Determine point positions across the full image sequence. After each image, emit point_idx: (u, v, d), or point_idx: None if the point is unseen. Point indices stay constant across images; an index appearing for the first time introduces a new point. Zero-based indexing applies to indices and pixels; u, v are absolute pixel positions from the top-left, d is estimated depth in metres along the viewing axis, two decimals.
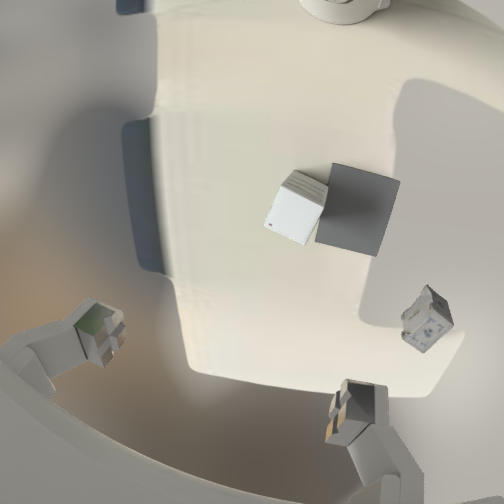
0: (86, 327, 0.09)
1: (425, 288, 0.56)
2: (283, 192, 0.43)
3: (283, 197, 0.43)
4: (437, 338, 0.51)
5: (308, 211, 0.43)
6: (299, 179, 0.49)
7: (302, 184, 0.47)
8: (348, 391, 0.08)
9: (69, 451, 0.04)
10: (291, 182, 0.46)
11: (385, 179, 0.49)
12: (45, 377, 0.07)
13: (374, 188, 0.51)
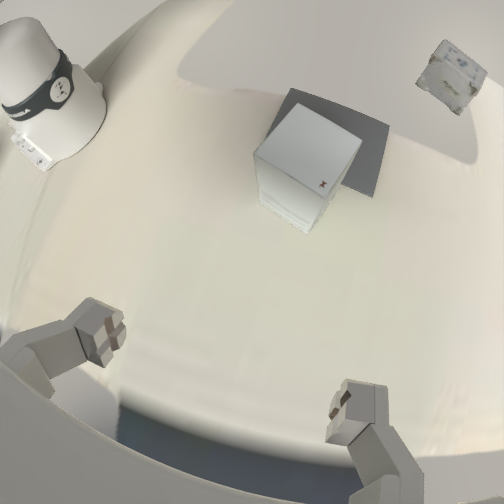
0: (86, 327, 0.09)
1: (419, 83, 0.40)
2: (265, 151, 0.25)
3: (274, 152, 0.24)
4: (465, 55, 0.31)
5: (303, 121, 0.25)
6: None
7: None
8: (348, 391, 0.08)
9: (69, 451, 0.04)
10: None
11: (287, 100, 0.40)
12: (45, 377, 0.07)
13: None
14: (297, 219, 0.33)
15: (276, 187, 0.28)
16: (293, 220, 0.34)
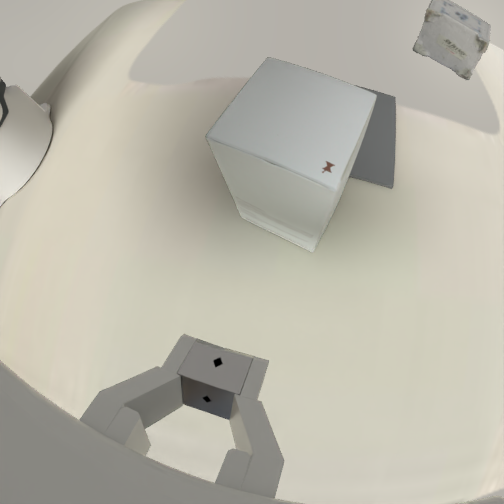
0: (195, 374, 0.08)
1: (417, 49, 0.31)
2: (225, 129, 0.14)
3: (239, 128, 0.14)
4: (462, 8, 0.22)
5: (280, 79, 0.15)
6: None
7: None
8: (221, 359, 0.09)
9: (69, 451, 0.04)
10: None
11: None
12: (145, 435, 0.07)
13: None
14: (295, 233, 0.22)
15: (254, 187, 0.18)
16: (290, 235, 0.23)
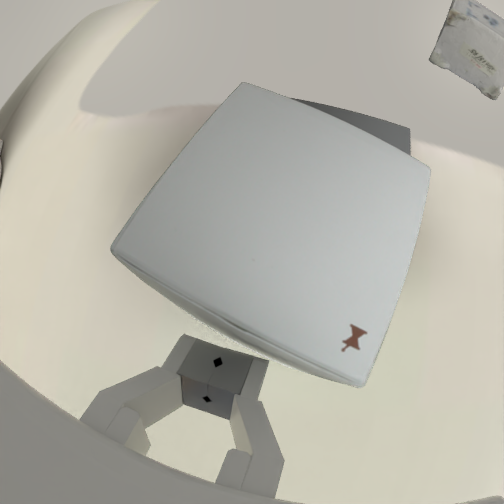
0: (195, 373, 0.08)
1: (435, 59, 0.24)
2: (146, 236, 0.07)
3: (174, 238, 0.07)
4: (490, 11, 0.16)
5: (263, 126, 0.08)
6: None
7: None
8: (221, 359, 0.09)
9: (69, 451, 0.04)
10: None
11: None
12: (145, 435, 0.07)
13: None
14: None
15: (206, 322, 0.10)
16: (260, 354, 0.16)
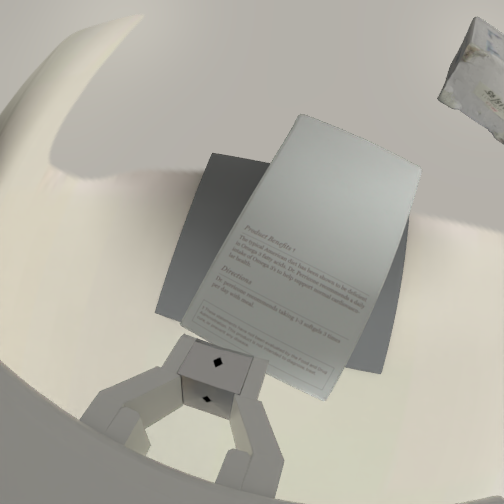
0: (195, 374, 0.08)
1: (445, 98, 0.23)
2: None
3: None
4: None
5: None
6: None
7: None
8: (221, 359, 0.09)
9: (69, 451, 0.04)
10: None
11: (204, 184, 0.22)
12: (145, 435, 0.07)
13: (225, 208, 0.22)
14: (327, 313, 0.12)
15: (318, 181, 0.14)
16: (307, 332, 0.12)
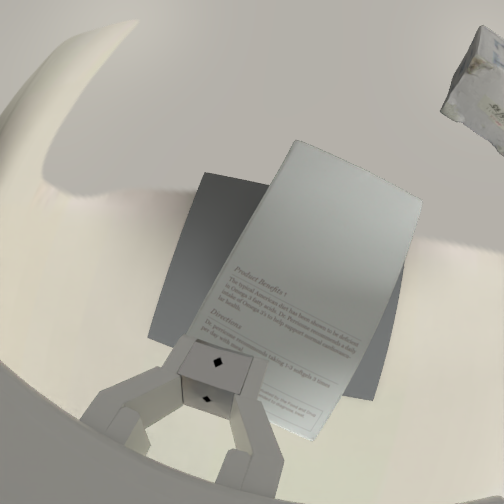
0: (195, 373, 0.08)
1: (448, 111, 0.22)
2: None
3: None
4: None
5: None
6: None
7: None
8: (221, 359, 0.09)
9: (69, 451, 0.04)
10: None
11: (196, 206, 0.22)
12: (145, 435, 0.07)
13: (217, 232, 0.21)
14: (317, 359, 0.11)
15: (313, 218, 0.13)
16: (296, 378, 0.11)
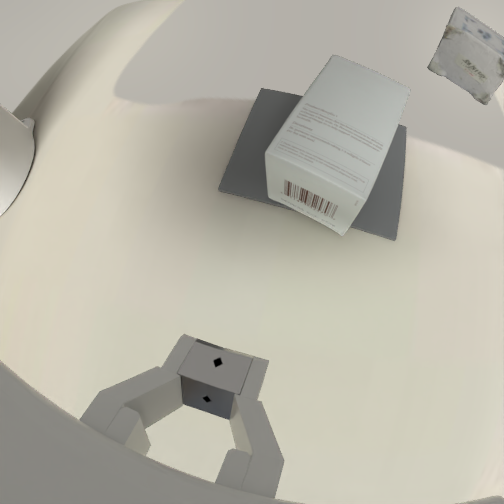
0: (195, 373, 0.08)
1: (433, 67, 0.28)
2: None
3: None
4: (485, 25, 0.19)
5: None
6: None
7: None
8: (221, 359, 0.09)
9: (69, 451, 0.04)
10: None
11: (257, 106, 0.28)
12: (145, 435, 0.07)
13: (273, 121, 0.27)
14: (360, 148, 0.18)
15: (347, 86, 0.19)
16: (349, 157, 0.18)
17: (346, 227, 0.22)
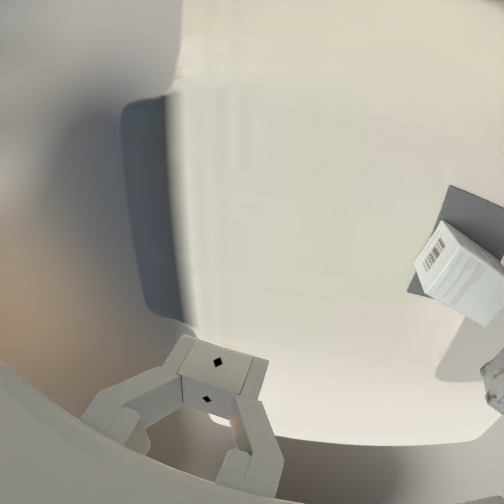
0: (195, 373, 0.08)
1: None
2: None
3: None
4: None
5: None
6: (481, 254, 0.27)
7: (490, 259, 0.28)
8: (221, 359, 0.09)
9: (69, 451, 0.04)
10: (501, 270, 0.26)
11: None
12: (145, 435, 0.07)
13: (492, 224, 0.30)
14: (452, 293, 0.28)
15: (492, 292, 0.27)
16: (448, 287, 0.28)
17: (416, 269, 0.34)
